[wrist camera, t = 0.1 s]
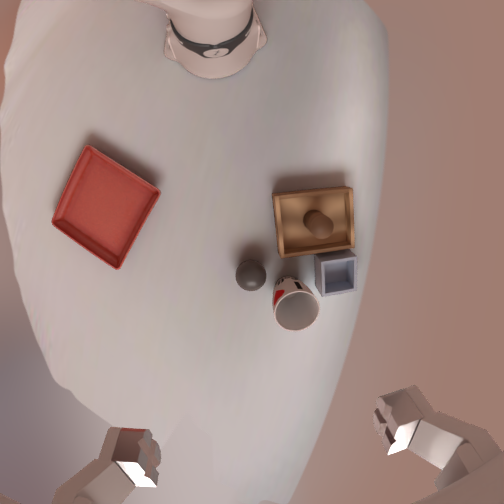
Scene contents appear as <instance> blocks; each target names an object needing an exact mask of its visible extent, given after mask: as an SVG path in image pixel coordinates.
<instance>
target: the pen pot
mask: <svg viewBox="0 0 504 504" xmlns="http://www.w3.org/2000/svg"><path fill="white" fill-rule="evenodd" d="M314 264H315V286H316V288H317V289H318V291H319V293H320V294H321V296H322V297H325V296H330V295H336V294H341V293H347V292H352V291H357V256H356V255H355V254H354V253H353V252H351V251H350V250H349V249H344V250H337V251H330V252H323V253H316V254H314Z"/></svg>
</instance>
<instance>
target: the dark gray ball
mask: <svg viewBox="0 0 504 504" xmlns="http://www.w3.org/2000/svg"><path fill="white" fill-rule="evenodd" d="M236 281H237V283H238V285H239V286H240V287H241V288H243V289H244V290H247V291H255V290H258V289H259V288H261V287H262V286H263V285H264V283H265V281H266V271H265V269H264V267H263V266H262V265H261V264H260V263H259V262H257V261H253V260H249V261H245V262H243V263H242V264H241V265H240V266H239V267H238V268H237V271H236Z"/></svg>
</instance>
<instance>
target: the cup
mask: <svg viewBox="0 0 504 504" xmlns="http://www.w3.org/2000/svg"><path fill="white" fill-rule="evenodd" d="M272 304H273V310H274V317H275V320H276V322H277V324H278V325H279V326H280V327H281V328H283V329H285V330H287V331H301V330H304V329H306V328H308V327H310V326H311V325H312V324H313V323H314V322H315V321H316V319H317V318H318V315H319V312H320V305H319V302H318V300H317V298H316V297H315V296H314V294H313V293H312V292H311V290H310V289H309V288H308V287H307V286H306V285H305V284H304V283H303V282H301V281H300V280H298V279H296V278H294V277H291V276H286V277H283V278H281V279H279V280H278V282H277V283H276V285H275V288H274V290H273V302H272Z"/></svg>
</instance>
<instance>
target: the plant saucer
mask: <svg viewBox="0 0 504 504" xmlns="http://www.w3.org/2000/svg"><path fill="white" fill-rule="evenodd" d="M160 195H161V192H160V190H159V189H158V188H156V187H155V186H153V185H152V184H150V183H148V182H147V181H145V180H144V179H142V178H141V177H139V176H137V175H136V174H134V173H133V172H131V171H130V170H128V169H126V168H125V167H123V166H122V165H120V164H119V163H117V162H116V161H114V160H113V159H111V158H109V157H108V156H106V155H105V154H103V153H102V152H100V151H99V150H97V149H96V148H94V147H92V146H91V145H85V147H84V149H83V151H82V153H81V154H80V156H79V158H78V161H77V163H76V165H75V167H74V169H73V171H72V173H71V175H70V177H69V180H68V182H67V184H66V186H65V188H64V191H63V193H62V196H61V198H60V201H59V203H58V205H57V208H56V210H55V213H54V215H53V218H52V225H53V226H54V227H56V228H57V229H58V230H60V231H61V232H62V233H64V234H65V235H67V236H68V237H69V238H71V239H72V240H73V241H75V242H76V243H78V244H79V245H80V246H82V247H83V248H85V249H86V250H87V251H89V252H90V253H92V254H93V255H95V256H96V257H98V258H99V259H100V260H102V261H103V262H105V263H106V264H108V265H109V266H111V267H112V268H114V269H116V270H119V269H120V268H121V266H122V264H123V262H124V260H125V258H126V256H127V255H128V253H129V251H130V249H131V247H132V245H133V243H134V242H135V240H136V238H137V236H138V234H139V232H140V230H141V228H142V227H143V225H144V223H145V221H146V219H147V218H148V216H149V214H150V212H151V211H152V209H153V207H154V205H155V204H156V202H157V200H158V199H159V197H160Z"/></svg>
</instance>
